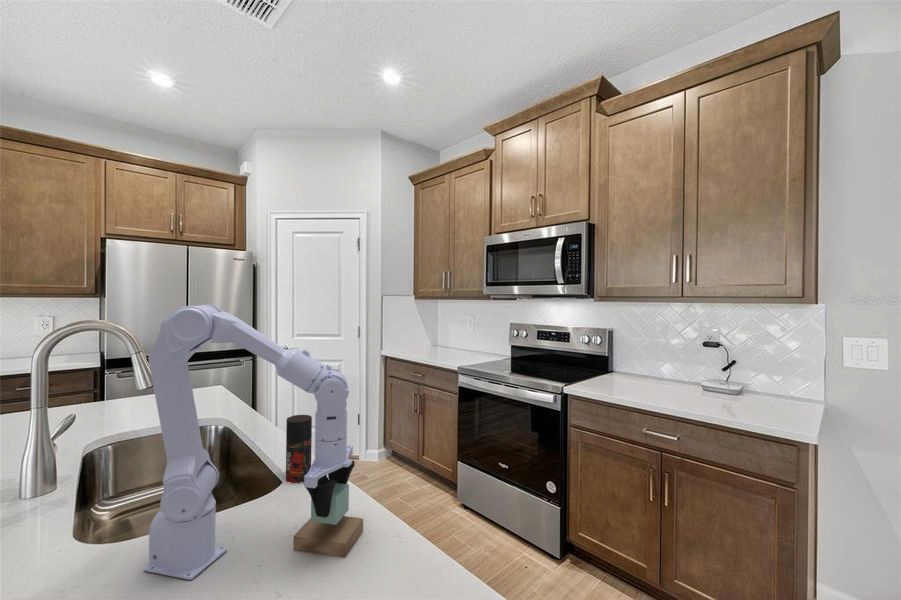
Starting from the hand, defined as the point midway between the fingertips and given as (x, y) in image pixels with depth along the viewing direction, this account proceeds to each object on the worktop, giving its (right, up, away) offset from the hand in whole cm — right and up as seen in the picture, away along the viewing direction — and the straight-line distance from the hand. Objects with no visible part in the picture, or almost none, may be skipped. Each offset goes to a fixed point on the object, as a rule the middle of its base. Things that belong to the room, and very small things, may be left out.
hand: (330, 507), depth 76 cm
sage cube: (0, -1, 0) cm, 1 cm away
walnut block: (0, -7, 0) cm, 7 cm away
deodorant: (-15, -6, +25) cm, 30 cm away
